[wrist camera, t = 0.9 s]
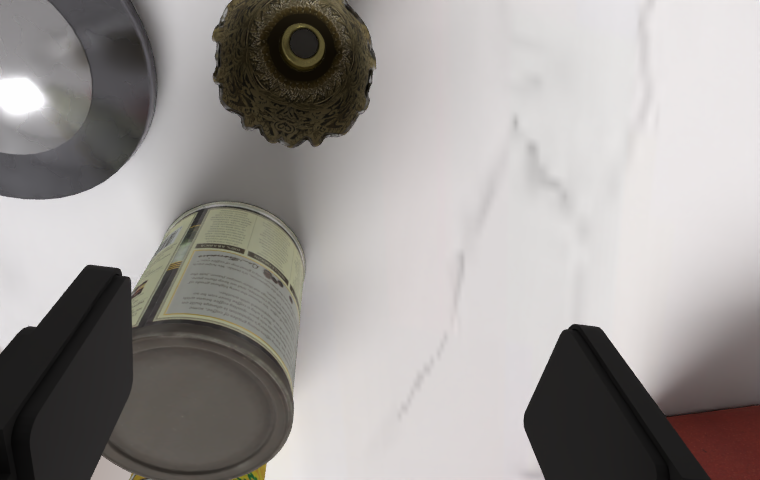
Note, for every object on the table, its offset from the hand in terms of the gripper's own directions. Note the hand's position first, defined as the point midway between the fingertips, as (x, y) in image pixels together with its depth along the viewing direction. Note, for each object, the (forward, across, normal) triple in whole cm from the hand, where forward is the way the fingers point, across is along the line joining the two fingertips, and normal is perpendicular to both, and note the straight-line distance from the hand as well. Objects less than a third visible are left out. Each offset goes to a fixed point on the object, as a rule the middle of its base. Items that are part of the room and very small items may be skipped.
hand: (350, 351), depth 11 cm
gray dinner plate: (+24, +19, +1) cm, 30 cm away
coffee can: (+24, +5, +13) cm, 28 cm away
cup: (+24, +2, -3) cm, 24 cm away
